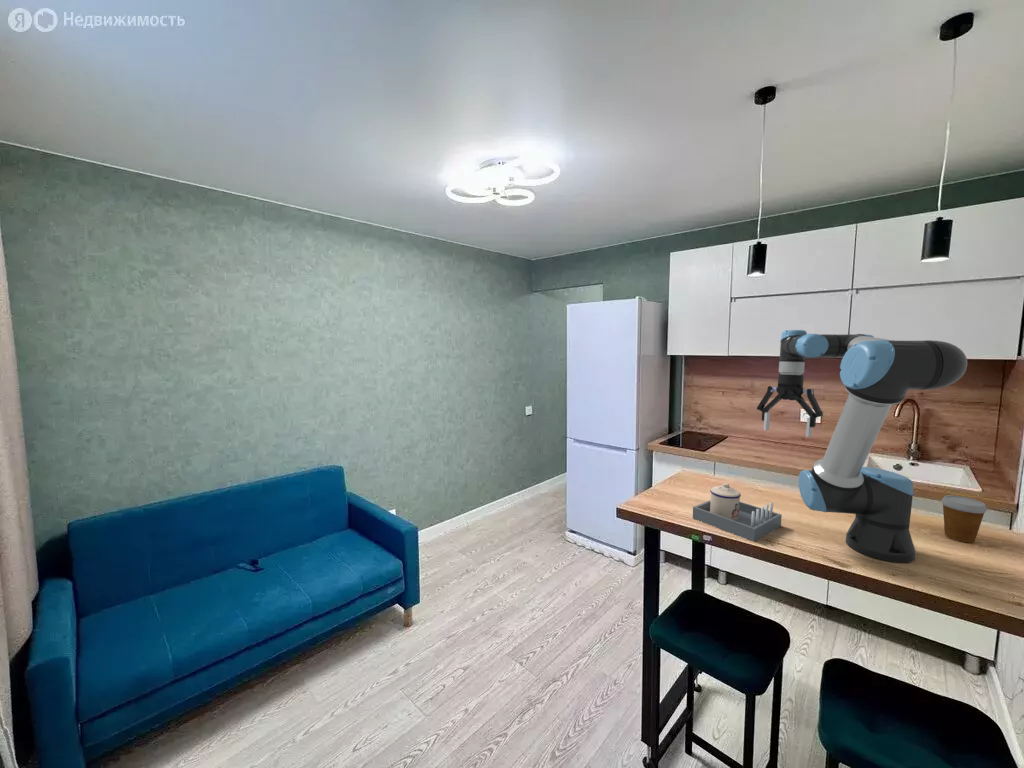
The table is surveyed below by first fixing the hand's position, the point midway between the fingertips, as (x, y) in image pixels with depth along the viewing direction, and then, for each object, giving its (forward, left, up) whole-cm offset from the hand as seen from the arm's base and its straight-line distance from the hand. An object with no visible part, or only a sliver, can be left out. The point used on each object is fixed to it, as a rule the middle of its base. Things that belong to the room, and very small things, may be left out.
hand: (786, 433), depth 149 cm
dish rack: (+3, +27, -27) cm, 39 cm away
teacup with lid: (+6, +27, -26) cm, 39 cm away
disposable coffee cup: (-42, -18, -27) cm, 53 cm away
